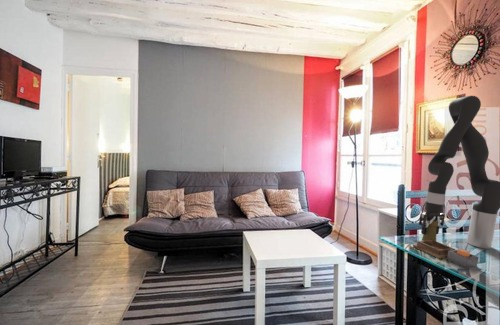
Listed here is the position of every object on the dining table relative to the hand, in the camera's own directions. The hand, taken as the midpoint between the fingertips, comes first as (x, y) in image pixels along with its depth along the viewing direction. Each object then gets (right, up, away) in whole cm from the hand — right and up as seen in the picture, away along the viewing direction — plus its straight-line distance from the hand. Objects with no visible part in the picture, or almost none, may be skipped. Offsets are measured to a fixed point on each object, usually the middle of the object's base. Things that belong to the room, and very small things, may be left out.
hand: (429, 233), depth 130 cm
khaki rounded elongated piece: (0, -4, 0) cm, 4 cm away
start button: (-2, -4, -23) cm, 23 cm away
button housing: (-3, -6, -23) cm, 24 cm away
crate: (-6, -4, -12) cm, 15 cm away
